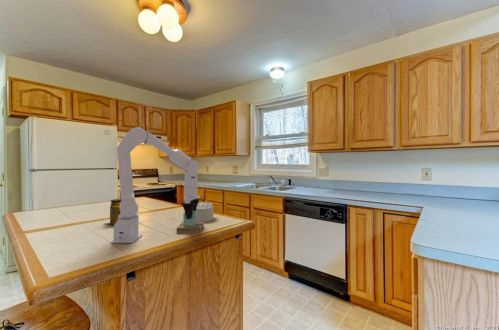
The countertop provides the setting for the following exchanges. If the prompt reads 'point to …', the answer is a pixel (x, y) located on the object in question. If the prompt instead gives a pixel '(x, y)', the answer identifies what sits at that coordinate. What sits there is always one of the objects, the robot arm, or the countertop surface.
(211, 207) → the lumpy-topped squat cylinder
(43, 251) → the countertop surface
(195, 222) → the teal block
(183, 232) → the walnut base
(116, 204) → the condiment
